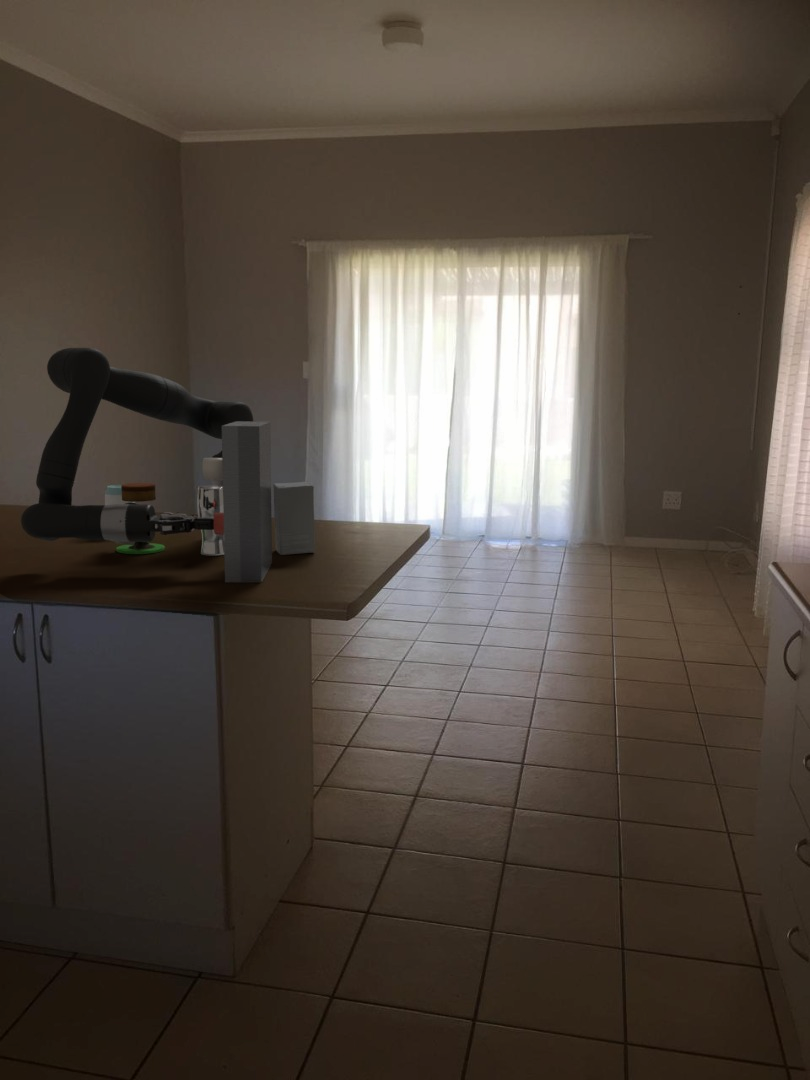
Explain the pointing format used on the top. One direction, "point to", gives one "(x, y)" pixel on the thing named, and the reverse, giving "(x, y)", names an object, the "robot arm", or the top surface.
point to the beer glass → (207, 507)
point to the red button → (219, 523)
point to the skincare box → (294, 518)
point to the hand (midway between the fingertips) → (215, 523)
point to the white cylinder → (212, 469)
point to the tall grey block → (247, 500)
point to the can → (114, 495)
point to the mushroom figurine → (135, 494)
